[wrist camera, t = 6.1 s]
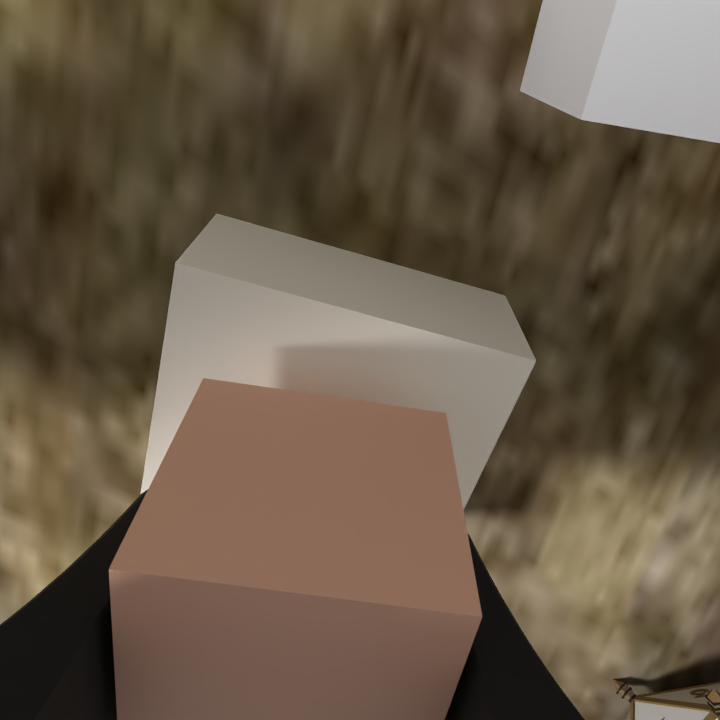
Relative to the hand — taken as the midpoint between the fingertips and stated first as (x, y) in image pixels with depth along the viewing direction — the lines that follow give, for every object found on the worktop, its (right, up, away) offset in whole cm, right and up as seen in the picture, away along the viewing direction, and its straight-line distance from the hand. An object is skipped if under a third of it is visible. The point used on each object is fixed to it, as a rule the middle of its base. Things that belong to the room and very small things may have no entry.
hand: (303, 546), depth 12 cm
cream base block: (0, +3, +6) cm, 7 cm away
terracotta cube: (0, +1, +1) cm, 2 cm away
